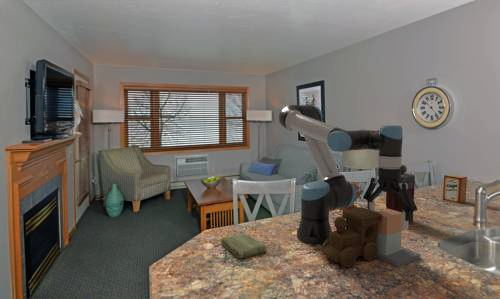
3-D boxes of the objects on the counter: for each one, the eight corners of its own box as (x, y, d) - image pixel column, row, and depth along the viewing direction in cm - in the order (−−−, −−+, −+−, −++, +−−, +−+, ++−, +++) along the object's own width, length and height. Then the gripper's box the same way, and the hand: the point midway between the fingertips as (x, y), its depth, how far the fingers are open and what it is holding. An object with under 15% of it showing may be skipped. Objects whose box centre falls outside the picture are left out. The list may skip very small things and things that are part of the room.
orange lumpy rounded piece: (356, 219, 145) (357, 184, 144) (335, 215, 152) (336, 181, 150) (363, 213, 154) (364, 180, 152) (342, 209, 161) (343, 178, 159)
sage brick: (385, 254, 103) (386, 235, 103) (371, 248, 108) (372, 230, 108) (400, 248, 108) (401, 231, 107) (386, 243, 113) (387, 226, 112)
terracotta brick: (386, 235, 103) (387, 217, 102) (372, 230, 108) (372, 212, 107) (401, 231, 107) (402, 212, 106) (387, 226, 112) (388, 208, 112)
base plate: (398, 267, 97) (398, 263, 97) (355, 247, 113) (355, 243, 113) (419, 258, 104) (420, 253, 104) (376, 240, 119) (376, 236, 119)
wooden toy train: (358, 246, 114) (359, 205, 112) (383, 258, 104) (384, 214, 102) (318, 257, 105) (319, 213, 104) (340, 271, 95) (342, 223, 93)
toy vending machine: (382, 219, 144) (384, 164, 142) (396, 215, 150) (398, 163, 147) (399, 225, 137) (401, 167, 134) (413, 221, 142) (415, 165, 139)
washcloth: (246, 237, 125) (246, 230, 125) (268, 253, 110) (268, 245, 109) (218, 243, 118) (218, 236, 118) (238, 261, 103) (238, 253, 103)
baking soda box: (442, 199, 179) (444, 174, 178) (448, 198, 182) (450, 173, 181) (459, 203, 171) (461, 177, 170) (465, 202, 174) (467, 176, 173)
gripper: (430, 171, 96) (427, 232, 98) (367, 162, 118) (365, 212, 120) (417, 173, 93) (414, 236, 95) (354, 163, 114) (353, 215, 116)
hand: (387, 223), depth 107 cm, fingers open, 13 cm apart
